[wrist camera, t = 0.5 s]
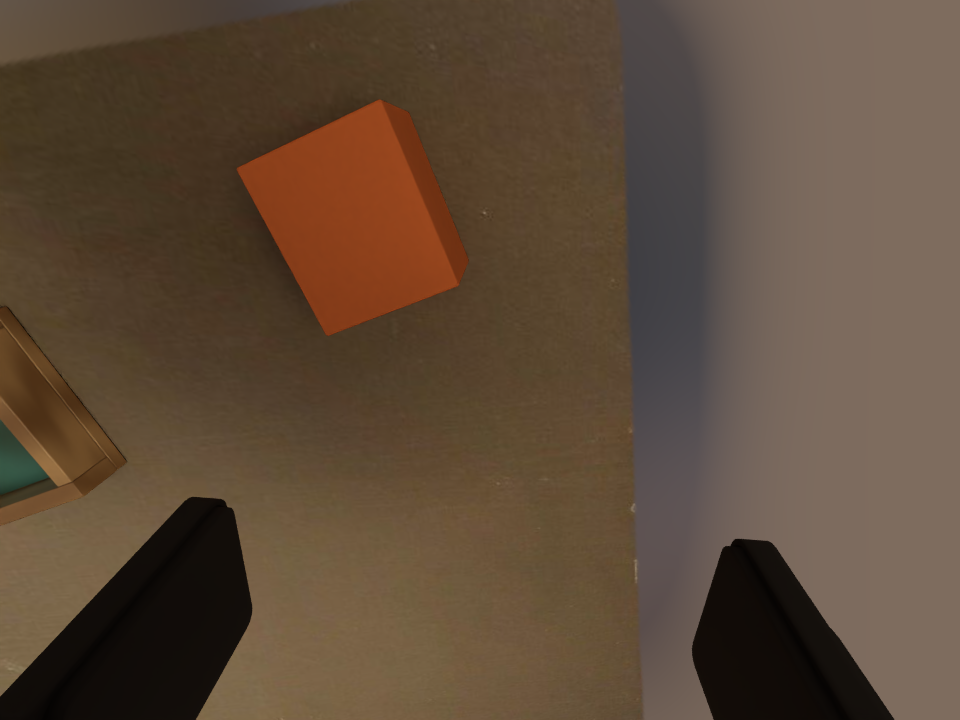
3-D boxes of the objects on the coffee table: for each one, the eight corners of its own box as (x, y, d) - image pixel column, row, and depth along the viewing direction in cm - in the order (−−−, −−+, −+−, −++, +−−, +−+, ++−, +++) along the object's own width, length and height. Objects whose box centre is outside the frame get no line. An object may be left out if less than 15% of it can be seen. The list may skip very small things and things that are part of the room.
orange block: (291, 166, 22) (234, 168, 18) (408, 111, 21) (380, 98, 17) (360, 303, 25) (326, 337, 20) (469, 260, 24) (459, 285, 19)
